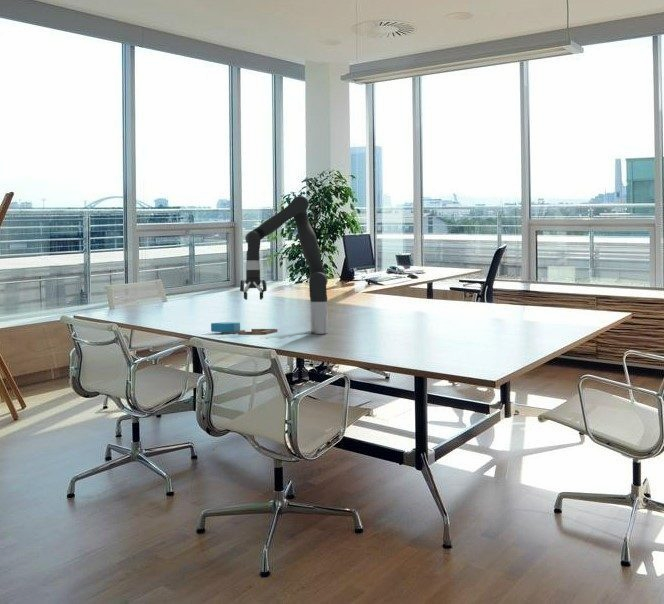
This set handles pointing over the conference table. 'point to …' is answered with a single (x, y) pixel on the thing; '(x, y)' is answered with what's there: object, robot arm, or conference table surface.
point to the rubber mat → (232, 332)
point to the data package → (225, 327)
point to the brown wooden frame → (258, 332)
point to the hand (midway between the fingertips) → (253, 299)
